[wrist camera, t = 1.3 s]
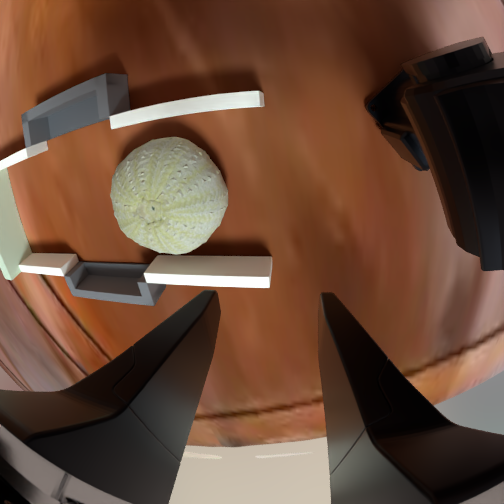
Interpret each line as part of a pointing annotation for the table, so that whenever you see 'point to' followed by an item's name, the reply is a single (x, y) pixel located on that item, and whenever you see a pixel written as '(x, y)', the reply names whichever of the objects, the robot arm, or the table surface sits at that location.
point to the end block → (10, 231)
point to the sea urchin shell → (168, 195)
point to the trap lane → (163, 266)
